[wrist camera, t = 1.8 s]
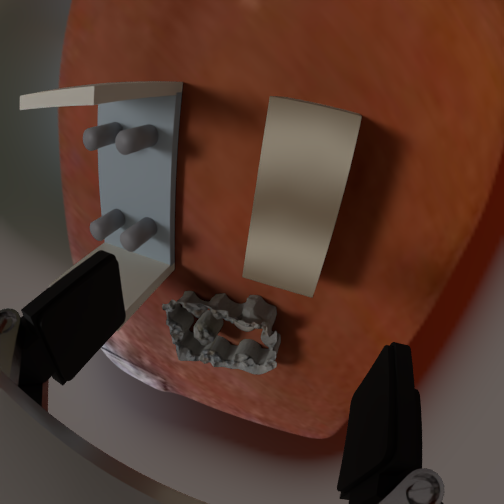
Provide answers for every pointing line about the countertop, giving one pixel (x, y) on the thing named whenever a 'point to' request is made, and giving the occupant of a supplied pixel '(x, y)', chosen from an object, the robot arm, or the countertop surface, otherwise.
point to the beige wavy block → (298, 192)
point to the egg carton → (209, 324)
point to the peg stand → (131, 176)
